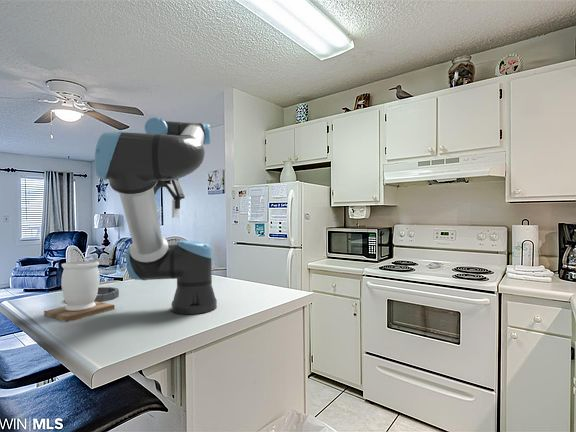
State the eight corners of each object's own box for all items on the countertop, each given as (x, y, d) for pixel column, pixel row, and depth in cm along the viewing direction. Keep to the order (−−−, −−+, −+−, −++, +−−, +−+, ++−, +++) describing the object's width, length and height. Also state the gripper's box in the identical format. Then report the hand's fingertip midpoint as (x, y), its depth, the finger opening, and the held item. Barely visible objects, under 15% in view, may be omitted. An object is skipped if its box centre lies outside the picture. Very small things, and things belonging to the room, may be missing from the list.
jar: (64, 314, 99) (64, 265, 99) (58, 307, 106) (58, 262, 106) (102, 308, 106) (103, 262, 106) (94, 302, 113) (95, 259, 114)
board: (114, 309, 110) (114, 304, 110) (67, 321, 96) (68, 316, 96) (91, 304, 116) (91, 300, 116) (44, 315, 102) (44, 311, 102)
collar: (127, 295, 129) (127, 289, 129) (86, 305, 114) (86, 298, 114) (101, 291, 136) (101, 285, 136) (59, 300, 122) (59, 293, 122)
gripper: (194, 162, 123) (194, 217, 122) (147, 166, 133) (146, 217, 133) (180, 158, 116) (179, 217, 115) (131, 164, 126) (131, 217, 126)
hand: (162, 217), depth 124 cm, fingers open, 13 cm apart
